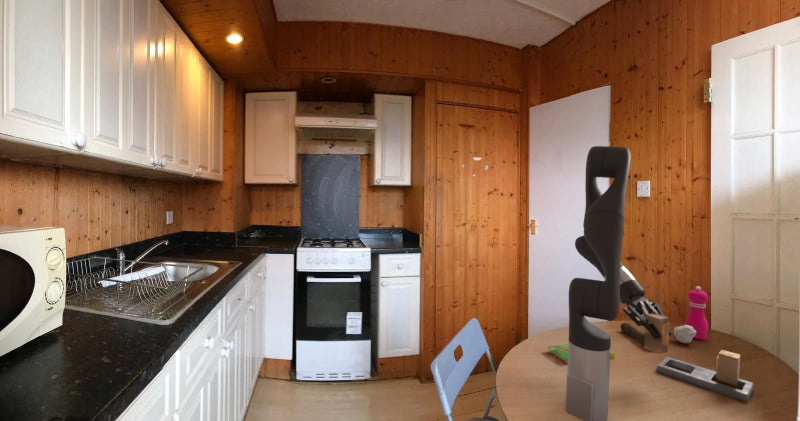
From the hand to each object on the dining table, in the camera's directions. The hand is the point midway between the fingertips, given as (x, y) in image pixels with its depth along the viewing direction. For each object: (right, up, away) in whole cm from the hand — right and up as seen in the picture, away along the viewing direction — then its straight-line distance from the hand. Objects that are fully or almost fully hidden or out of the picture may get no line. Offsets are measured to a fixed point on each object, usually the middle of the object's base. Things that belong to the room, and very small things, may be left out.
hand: (663, 336), depth 98 cm
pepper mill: (+42, -14, +38) cm, 59 cm away
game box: (-14, -14, +20) cm, 28 cm away
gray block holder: (+15, -15, +5) cm, 22 cm away
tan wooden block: (-1, -5, +2) cm, 5 cm away
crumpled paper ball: (+32, -14, +32) cm, 47 cm away
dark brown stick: (+16, -14, +33) cm, 40 cm away
